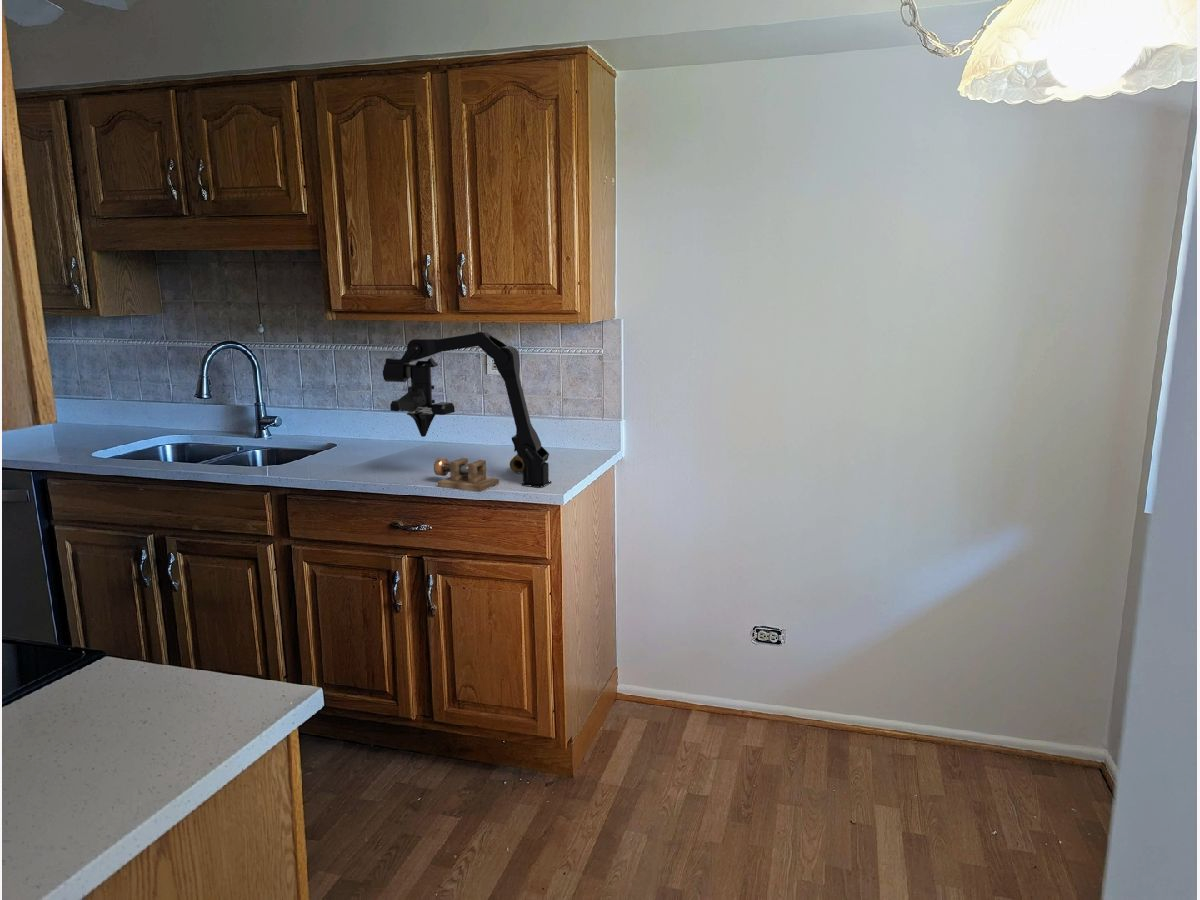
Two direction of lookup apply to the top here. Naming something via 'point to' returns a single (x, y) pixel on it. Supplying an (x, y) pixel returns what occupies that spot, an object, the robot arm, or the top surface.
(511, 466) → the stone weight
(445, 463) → the shaft
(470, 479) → the bearing stand
